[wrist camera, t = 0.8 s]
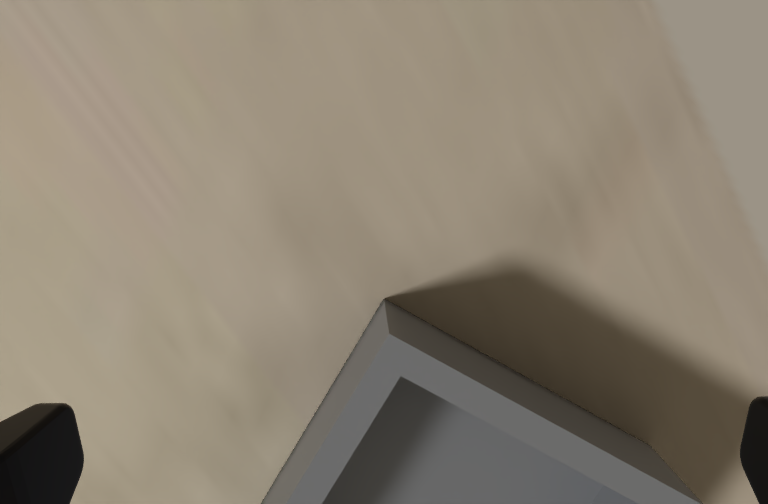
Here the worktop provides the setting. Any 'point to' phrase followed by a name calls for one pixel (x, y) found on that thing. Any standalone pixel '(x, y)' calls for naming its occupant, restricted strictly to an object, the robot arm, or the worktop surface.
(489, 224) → the worktop surface
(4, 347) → the worktop surface
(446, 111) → the worktop surface
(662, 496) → the bin
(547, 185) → the worktop surface
